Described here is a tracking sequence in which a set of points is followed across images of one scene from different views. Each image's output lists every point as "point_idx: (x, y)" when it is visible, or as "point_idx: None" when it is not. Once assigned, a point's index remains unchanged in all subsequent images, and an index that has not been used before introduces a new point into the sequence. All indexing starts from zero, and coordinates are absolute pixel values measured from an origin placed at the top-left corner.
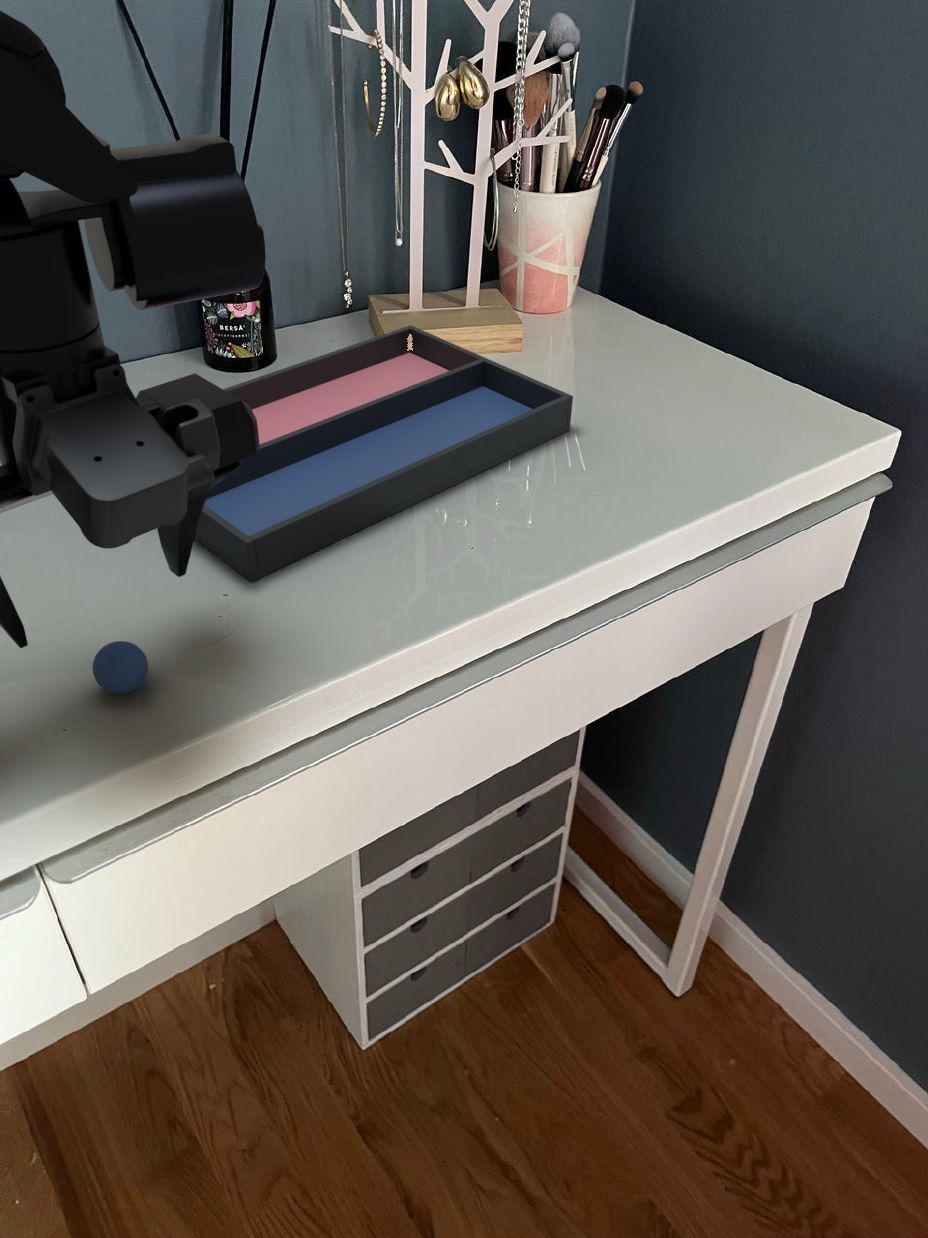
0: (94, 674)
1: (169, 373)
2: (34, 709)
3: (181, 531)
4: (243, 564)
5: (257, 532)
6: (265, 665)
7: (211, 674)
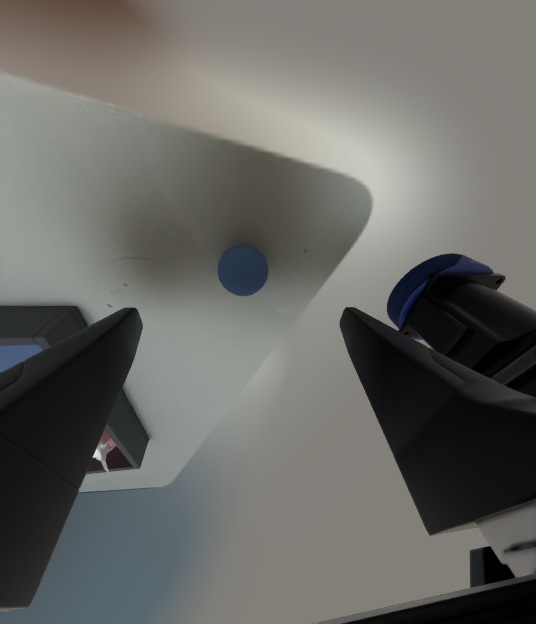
0: (267, 275)
1: None
2: (304, 285)
3: (67, 360)
4: (72, 324)
5: (24, 344)
6: (104, 184)
7: (168, 219)
